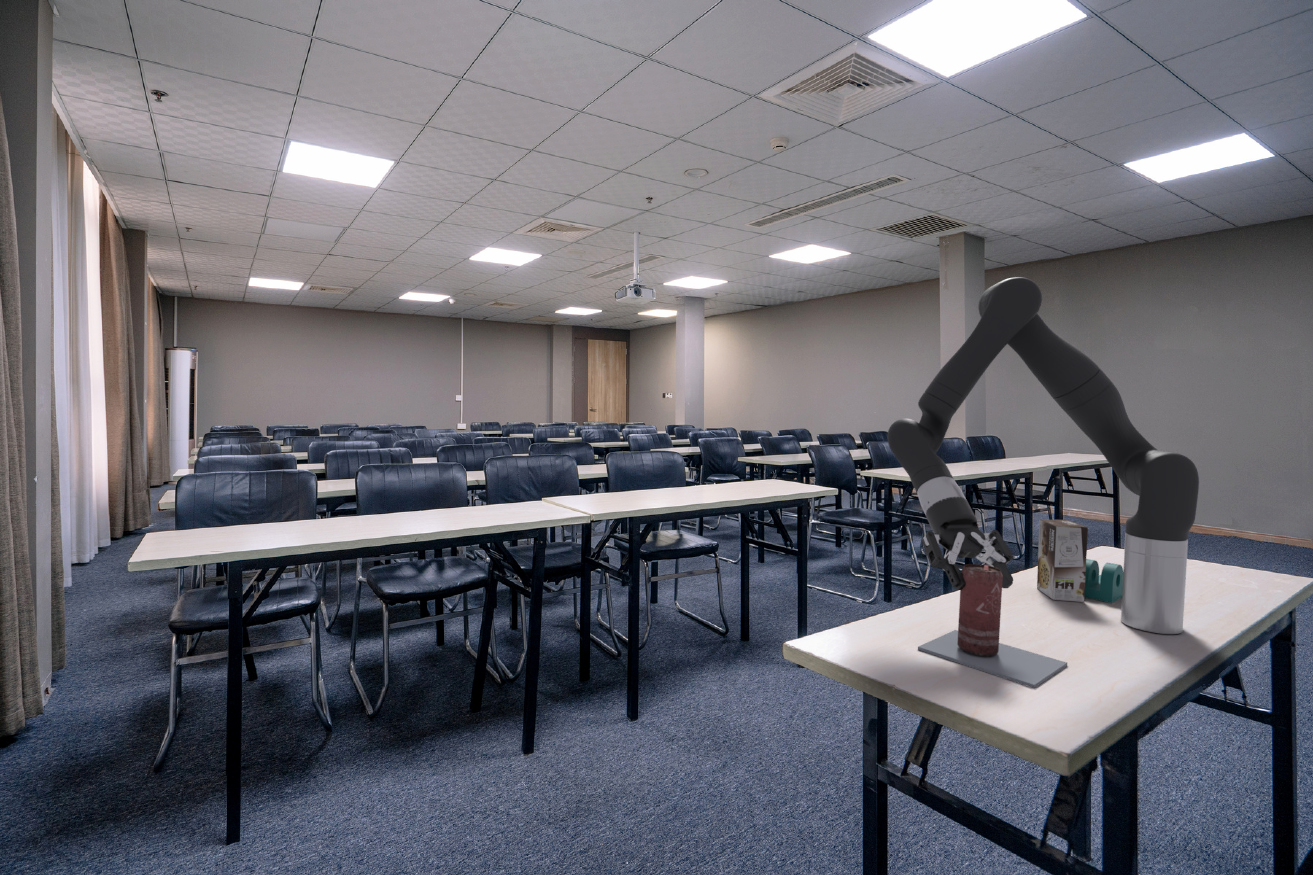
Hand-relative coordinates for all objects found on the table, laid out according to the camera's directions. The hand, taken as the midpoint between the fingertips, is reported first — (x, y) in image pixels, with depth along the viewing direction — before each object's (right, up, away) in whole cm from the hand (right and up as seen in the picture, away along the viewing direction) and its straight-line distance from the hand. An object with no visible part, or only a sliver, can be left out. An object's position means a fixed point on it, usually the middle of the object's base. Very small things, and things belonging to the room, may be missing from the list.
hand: (985, 587), depth 104 cm
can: (-1, -11, 0) cm, 11 cm away
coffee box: (+34, -10, +33) cm, 49 cm away
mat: (0, -11, -1) cm, 11 cm away
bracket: (+47, -10, +36) cm, 60 cm away
